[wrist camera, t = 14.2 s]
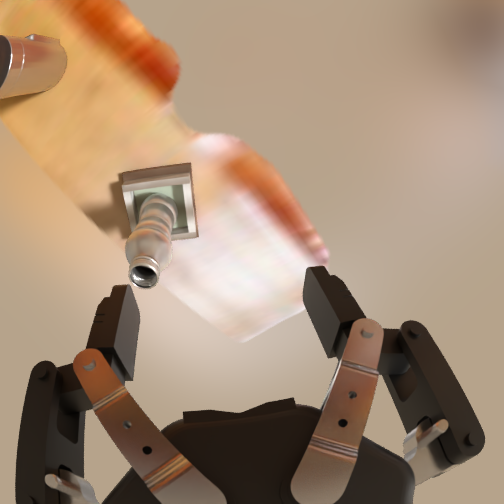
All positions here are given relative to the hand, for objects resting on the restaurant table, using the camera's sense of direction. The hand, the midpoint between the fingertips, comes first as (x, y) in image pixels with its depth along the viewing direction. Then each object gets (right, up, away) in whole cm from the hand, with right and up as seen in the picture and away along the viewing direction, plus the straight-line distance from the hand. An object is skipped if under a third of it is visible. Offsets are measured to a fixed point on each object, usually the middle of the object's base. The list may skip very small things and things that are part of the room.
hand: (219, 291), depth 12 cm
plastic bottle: (-15, +10, +35) cm, 39 cm away
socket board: (-15, +10, +36) cm, 40 cm away
